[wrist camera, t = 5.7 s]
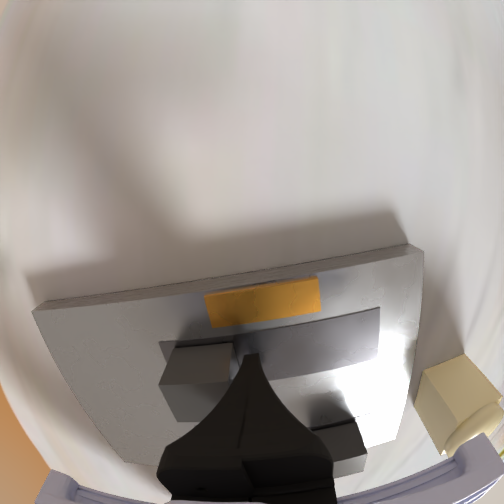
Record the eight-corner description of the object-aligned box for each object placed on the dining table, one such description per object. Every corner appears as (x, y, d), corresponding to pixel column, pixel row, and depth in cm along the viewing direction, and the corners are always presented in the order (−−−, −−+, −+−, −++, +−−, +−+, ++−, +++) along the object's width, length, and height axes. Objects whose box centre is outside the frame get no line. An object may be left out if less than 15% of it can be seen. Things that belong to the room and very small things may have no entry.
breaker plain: (354, 441, 15) (363, 471, 13) (312, 450, 16) (317, 481, 13) (356, 421, 15) (367, 453, 12) (310, 431, 15) (316, 465, 12)
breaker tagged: (242, 380, 14) (240, 420, 11) (187, 384, 14) (177, 422, 11) (232, 342, 13) (227, 381, 10) (173, 348, 13) (157, 385, 10)
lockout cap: (454, 391, 17) (489, 439, 11) (409, 409, 17) (439, 467, 11) (467, 349, 15) (513, 398, 9) (419, 368, 16) (461, 430, 10)
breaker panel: (389, 425, 17) (395, 440, 16) (129, 449, 19) (124, 463, 17) (409, 243, 13) (426, 252, 12) (44, 301, 14) (29, 313, 13)
